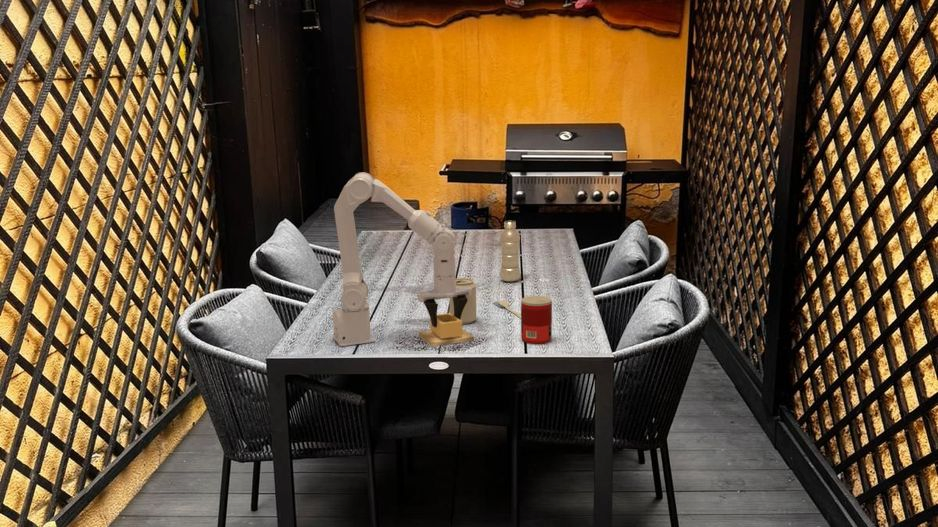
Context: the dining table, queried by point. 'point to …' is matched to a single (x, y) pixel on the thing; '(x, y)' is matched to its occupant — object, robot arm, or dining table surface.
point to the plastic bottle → (510, 252)
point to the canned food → (536, 319)
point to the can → (470, 306)
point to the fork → (505, 304)
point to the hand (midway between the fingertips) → (445, 324)
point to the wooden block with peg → (436, 340)
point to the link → (447, 326)
